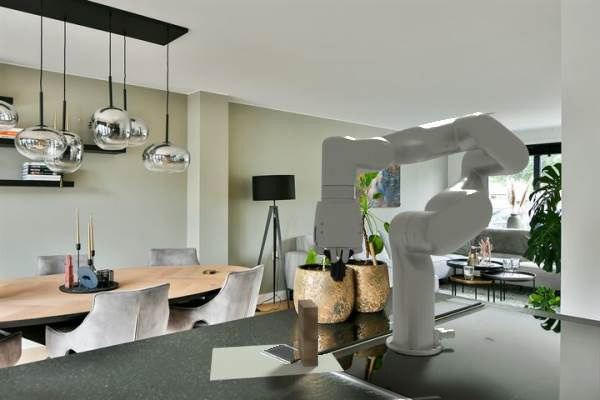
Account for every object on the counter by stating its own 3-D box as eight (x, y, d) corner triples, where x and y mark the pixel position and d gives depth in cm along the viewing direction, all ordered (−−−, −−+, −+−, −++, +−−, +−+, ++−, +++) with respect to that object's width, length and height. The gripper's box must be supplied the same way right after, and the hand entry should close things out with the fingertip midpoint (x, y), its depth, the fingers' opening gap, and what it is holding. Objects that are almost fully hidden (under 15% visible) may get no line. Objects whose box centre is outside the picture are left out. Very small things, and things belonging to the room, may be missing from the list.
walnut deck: (311, 353, 95) (311, 299, 95) (318, 365, 88) (318, 307, 88) (298, 354, 95) (297, 299, 95) (303, 366, 88) (303, 307, 88)
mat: (323, 343, 103) (323, 341, 103) (344, 373, 86) (344, 370, 86) (212, 350, 99) (212, 348, 99) (209, 382, 81) (209, 380, 81)
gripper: (366, 195, 98) (365, 277, 98) (301, 194, 95) (300, 278, 95) (378, 195, 90) (377, 283, 90) (307, 194, 88) (306, 284, 88)
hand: (337, 280), depth 93 cm, fingers closed
